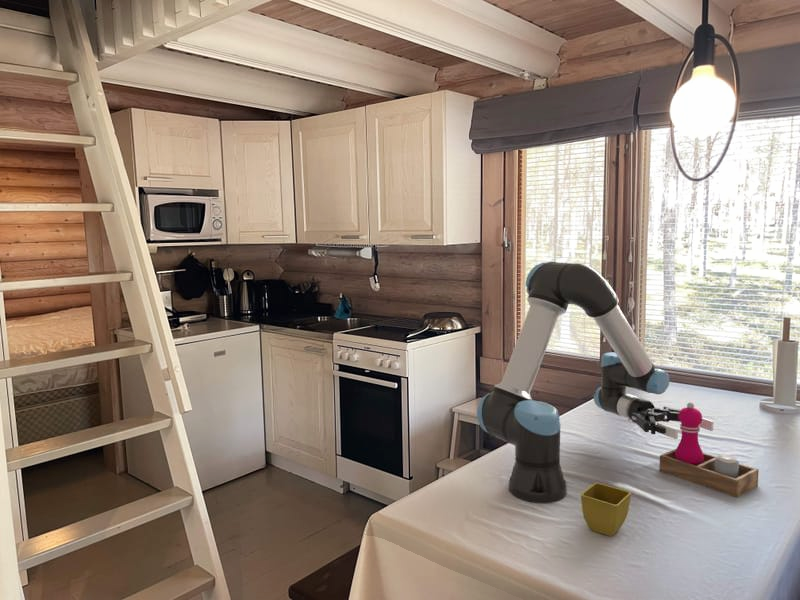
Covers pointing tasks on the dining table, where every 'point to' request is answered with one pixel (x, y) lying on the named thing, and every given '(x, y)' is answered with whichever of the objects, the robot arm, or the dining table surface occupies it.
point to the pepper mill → (689, 436)
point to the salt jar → (727, 466)
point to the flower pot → (605, 508)
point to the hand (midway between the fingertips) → (695, 430)
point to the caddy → (710, 474)
